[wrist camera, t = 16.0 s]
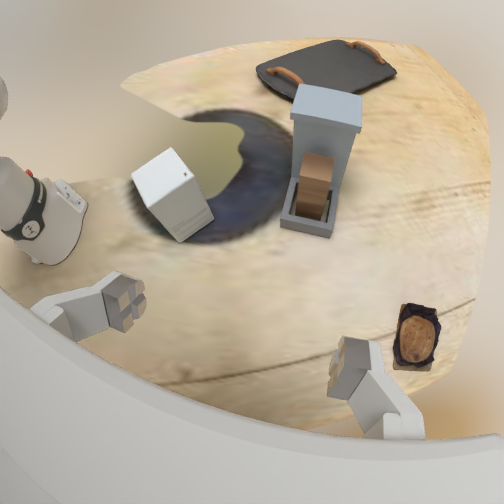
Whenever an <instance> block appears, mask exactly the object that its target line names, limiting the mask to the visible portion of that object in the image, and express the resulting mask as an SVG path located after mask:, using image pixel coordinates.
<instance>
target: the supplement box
mask: <svg viewBox="0 0 504 504" xmlns="http://www.w3.org/2000/svg"><path fill="white" fill-rule="evenodd" d="M131 177H132V179H133V181H134V183H135V185H136V187H137V189H138V191H139V193H140V195H141V197H142V199H143V201H144V203H145V205H146V207H147V208H148V209H149V210H150V211H151V212H152V213H153V214H154V216H155V217H156V218H157V219H158V220H159V221H160V222H161V223H162V225H163V226H164V227H165V228H166V229H167V230H168V231H169V233H170V234H171V235H172V236H173V237H174V238H175V239H176V240H177V241H178V242H179V243H181V242H183V241H184V240H185V239H187V238H188V237H190V236H191V235H193V234H194V233H195V232H197V231H198V230H200V229H201V228H203V227H204V226H206V225H207V224H209V223H210V222H211V221H213V220H214V216H213V214H212V212H211V210H210V208H209V206H208V204H207V201H206V199H205V197H204V195H203V193H202V191H201V189H200V187H199V185H198V182H197V180H196V178H195V176H194V175H193V173H192V172H191V171H190V170H189V169H188V167H187V166H186V165H185V164H184V162H183V161H182V160H181V159H180V158H179V156H178V155H177V154H176V152H175V151H174V150H173V149H172V148H171V147H170V148H169V149H168V150H166V151H164V152H163V153H161V154H160V155H158V156H157V157H155V158H154V159H152V160H151V161H149V162H148V163H146V164H145V165H143V166H142V167H141V168H139V169H138V170H136V171H135V172H133V173H132V174H131Z"/></svg>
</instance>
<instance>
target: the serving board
mask: <svg viewBox="0 0 504 504" xmlns="http://www.w3.org/2000/svg"><path fill="white" fill-rule="evenodd" d="M360 46H361V47H360ZM362 47H363V48H362ZM256 72H257V74H258V75H259V76H260V78H261V79H262V80H263V81H264V82H266V83H267V84H268V85H269V86H270V87H272V88H273V89H274V90H276V91H278V92H280V93H282V94H284V95H286V96H288V97H290V98H292V99H295V96H296V93H297V89H298V86H299V84H306V85H312V86H318V87H323V88H328V89H333V90H338V91H342V92H347V93H351V94H353V93H354V92H356V91H358V90H362V89H364V88H367V87H369V86H370V85H373V84H375V83H378V82H381V81H382V80H384V79H386V78H388V77H391V76H394V75H396V74H397V72H396V70H395V69H394V68H393V67H392V66H391V65H390V64H389V63H387V62H386V61H385V60H384V59H382V58H381V56H380V54H379V53H378V52H377V51H376V50H375V49H374V48H372V47H370V46H369V45H367V44H365V43H362V42H358V41H357V42H353V43H350V42H346V41H343V40H332V41H328V42H324V43H321V44H317V45H315V46H311V47H307V48H304V49H301V50H298V51H295V52H292V53H289V54H286V55H283V56H280V57H278V58H275V59H273V60H270V61H267V62H265V63H262V64H260V65H258V66H257V67H256Z"/></svg>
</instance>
